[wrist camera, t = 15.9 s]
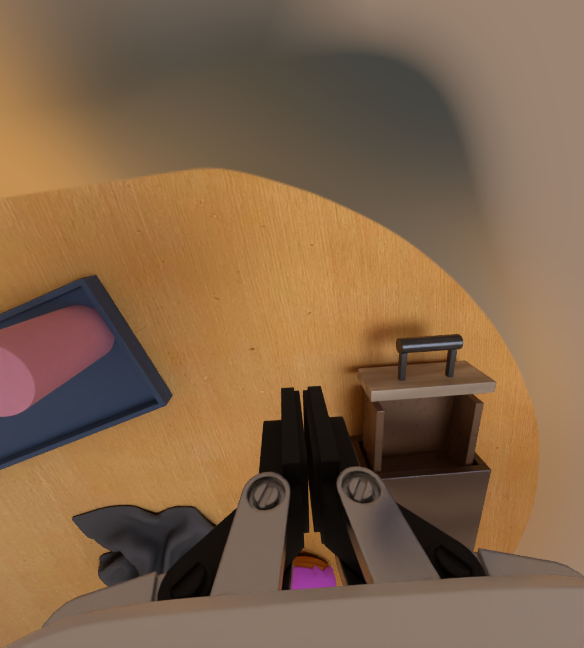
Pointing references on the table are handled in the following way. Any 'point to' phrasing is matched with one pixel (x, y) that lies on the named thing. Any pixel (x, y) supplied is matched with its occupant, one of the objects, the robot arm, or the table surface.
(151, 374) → the tray
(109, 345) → the cylinder
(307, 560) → the donut
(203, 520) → the cloth
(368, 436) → the drawer
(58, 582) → the table surface
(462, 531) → the cabinet
